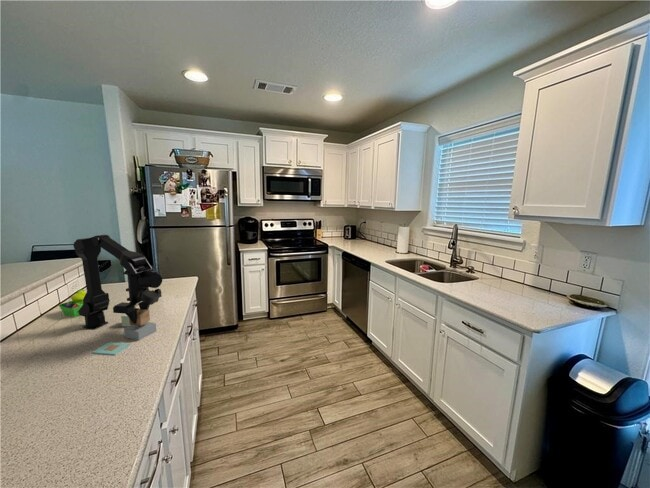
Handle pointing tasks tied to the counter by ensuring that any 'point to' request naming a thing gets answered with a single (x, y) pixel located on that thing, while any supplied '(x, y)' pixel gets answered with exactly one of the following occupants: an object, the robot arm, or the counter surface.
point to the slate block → (140, 331)
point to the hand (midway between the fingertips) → (139, 320)
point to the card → (111, 348)
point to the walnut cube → (141, 317)
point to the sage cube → (125, 320)
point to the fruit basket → (73, 304)
